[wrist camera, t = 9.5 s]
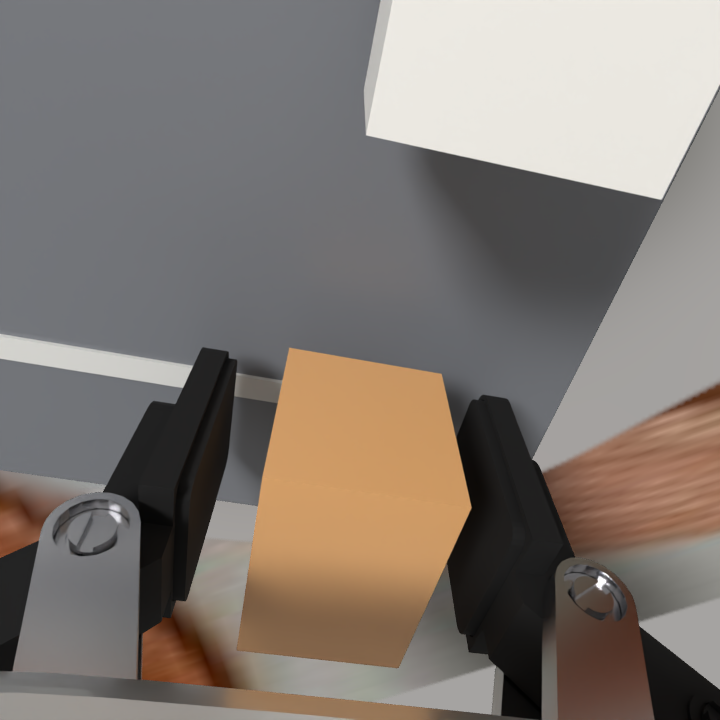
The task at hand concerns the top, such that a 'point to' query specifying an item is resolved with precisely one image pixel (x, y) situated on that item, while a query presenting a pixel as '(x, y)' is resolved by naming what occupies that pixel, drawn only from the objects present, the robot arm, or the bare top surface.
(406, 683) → the top surface
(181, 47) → the panel
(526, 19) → the fader
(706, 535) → the top surface
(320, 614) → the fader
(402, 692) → the top surface
